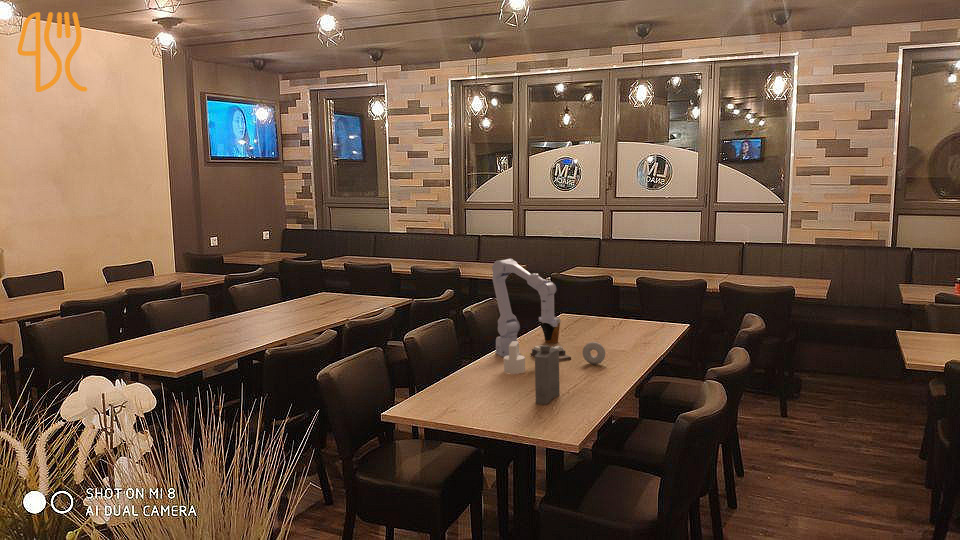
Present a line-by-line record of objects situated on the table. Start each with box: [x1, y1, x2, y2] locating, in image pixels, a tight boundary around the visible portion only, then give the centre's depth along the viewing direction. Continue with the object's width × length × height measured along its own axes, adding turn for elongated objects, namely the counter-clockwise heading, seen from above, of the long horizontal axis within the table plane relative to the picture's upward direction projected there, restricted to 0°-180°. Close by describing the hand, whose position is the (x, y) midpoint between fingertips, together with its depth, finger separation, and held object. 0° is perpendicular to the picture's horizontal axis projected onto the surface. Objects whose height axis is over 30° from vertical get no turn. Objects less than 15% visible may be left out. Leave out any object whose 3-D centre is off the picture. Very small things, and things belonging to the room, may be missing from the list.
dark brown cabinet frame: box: [529, 348, 572, 362], centre depth 328 cm, size 13×15×3 cm
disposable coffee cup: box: [541, 316, 562, 344], centre depth 358 cm, size 10×10×12 cm
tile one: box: [533, 344, 543, 351], centre depth 332 cm, size 4×4×2 cm
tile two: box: [550, 345, 564, 351], centre depth 330 cm, size 4×4×2 cm
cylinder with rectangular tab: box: [503, 340, 526, 375], centre depth 307 cm, size 9×9×12 cm
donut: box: [582, 341, 606, 365], centre depth 314 cm, size 10×3×10 cm, turn 67°
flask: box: [534, 344, 561, 406], centre depth 268 cm, size 15×6×20 cm, turn 153°
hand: (548, 340), depth 322 cm, fingers closed
